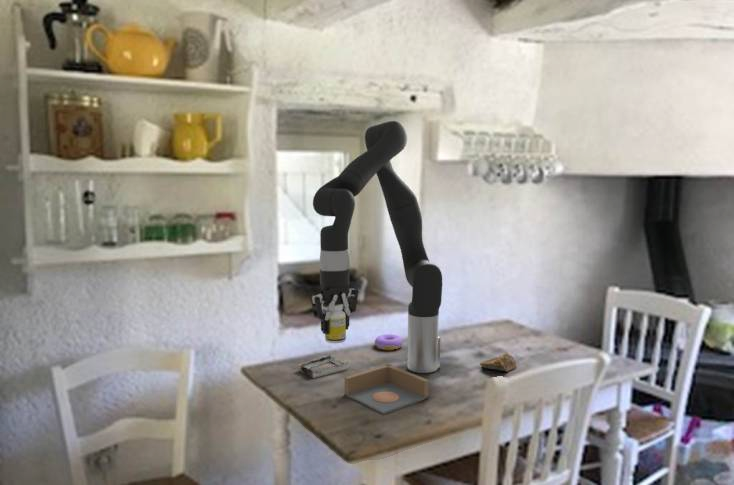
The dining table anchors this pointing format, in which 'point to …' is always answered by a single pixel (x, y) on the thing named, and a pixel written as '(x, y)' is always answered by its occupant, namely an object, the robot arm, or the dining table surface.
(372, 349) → the dining table surface
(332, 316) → the supplement bottle
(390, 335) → the donut
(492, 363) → the decorative stone
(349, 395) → the corner arena
